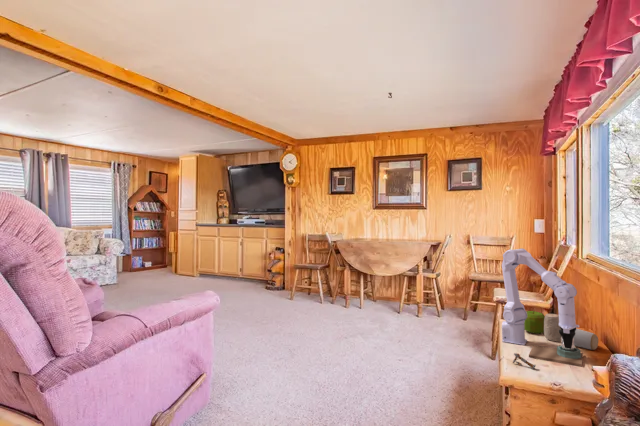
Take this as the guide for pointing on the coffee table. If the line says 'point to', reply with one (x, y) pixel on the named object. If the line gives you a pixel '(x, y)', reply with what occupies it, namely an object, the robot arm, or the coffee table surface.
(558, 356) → the board
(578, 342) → the grey cylinder
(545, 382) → the coffee table surface
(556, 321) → the carving
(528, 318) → the apple
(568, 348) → the clear glass jar
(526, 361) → the wooden post with brackets
